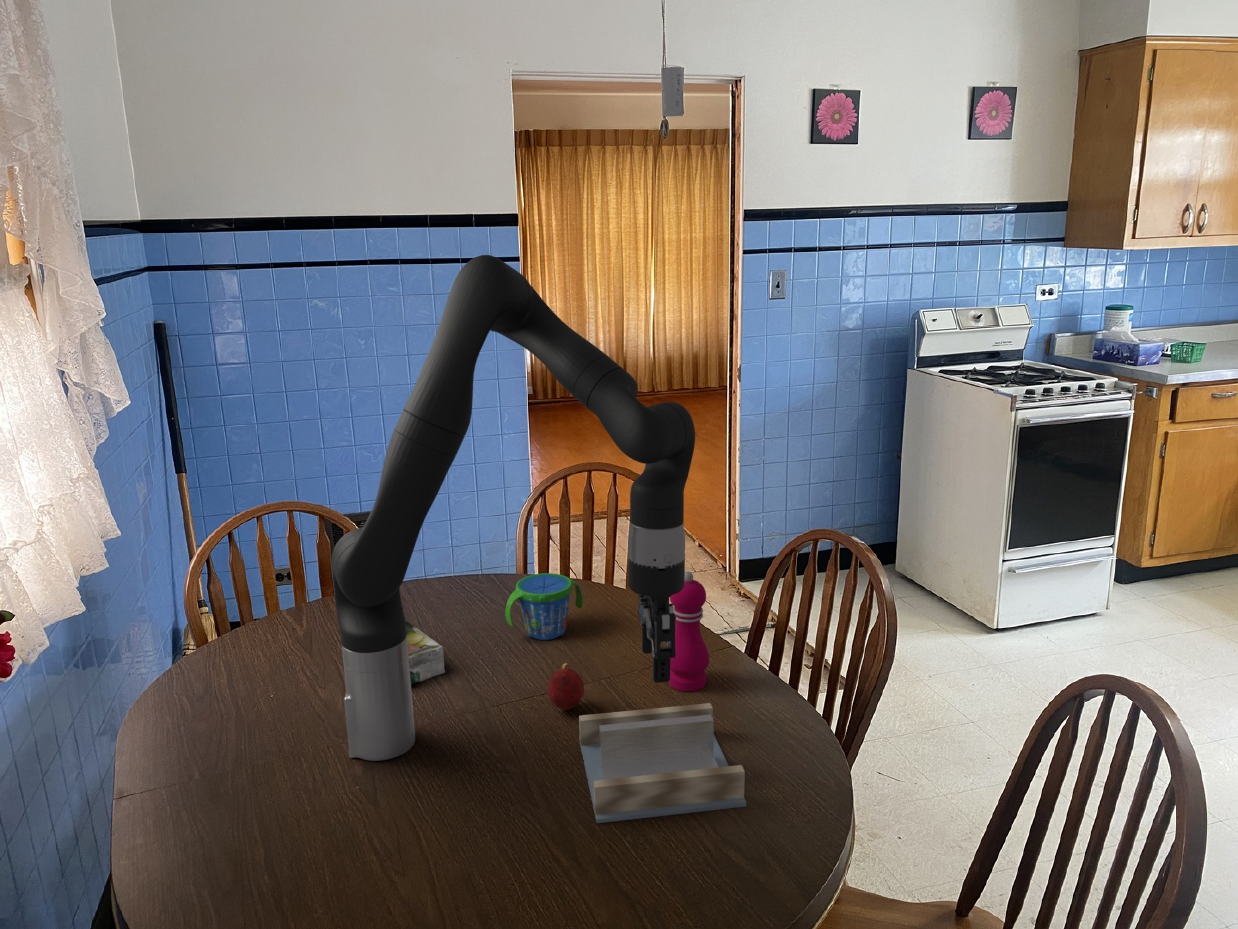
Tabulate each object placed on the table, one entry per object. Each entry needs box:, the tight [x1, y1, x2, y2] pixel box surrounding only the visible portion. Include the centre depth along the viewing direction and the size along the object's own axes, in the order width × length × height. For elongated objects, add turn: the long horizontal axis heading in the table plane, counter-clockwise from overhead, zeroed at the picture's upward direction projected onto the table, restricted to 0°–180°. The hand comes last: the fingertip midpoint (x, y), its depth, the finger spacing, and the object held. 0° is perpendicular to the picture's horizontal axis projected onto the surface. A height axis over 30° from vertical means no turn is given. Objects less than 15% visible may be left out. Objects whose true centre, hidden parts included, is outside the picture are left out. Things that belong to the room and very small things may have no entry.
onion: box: [547, 662, 585, 711], centre depth 143 cm, size 6×6×8 cm
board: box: [578, 735, 747, 824], centre depth 127 cm, size 20×20×1 cm
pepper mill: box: [668, 571, 710, 693], centre depth 149 cm, size 7×7×20 cm
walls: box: [578, 702, 746, 815], centre depth 127 cm, size 20×18×4 cm
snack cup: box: [504, 572, 584, 641], centre depth 170 cm, size 16×10×10 cm
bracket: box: [599, 715, 718, 780], centre depth 124 cm, size 16×6×7 cm, turn 99°
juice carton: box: [405, 620, 446, 685], centre depth 160 cm, size 20×10×6 cm, turn 41°
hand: (655, 666), depth 123 cm, fingers open, 8 cm apart
